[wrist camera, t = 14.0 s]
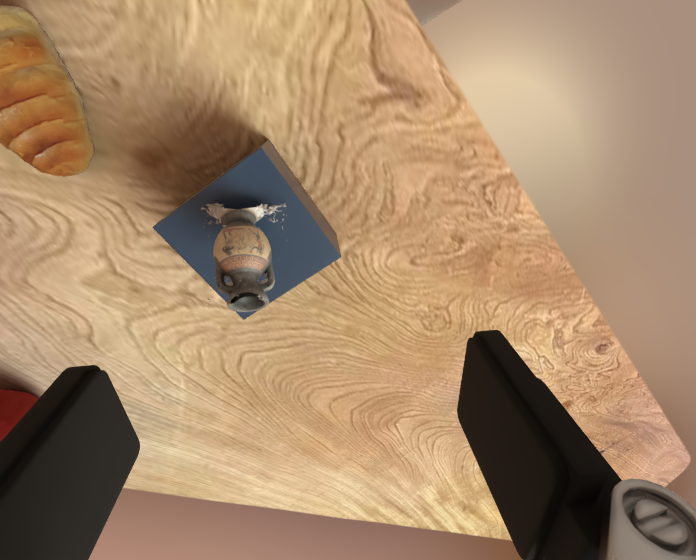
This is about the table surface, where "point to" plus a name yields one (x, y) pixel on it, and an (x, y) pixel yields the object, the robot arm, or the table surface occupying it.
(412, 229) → the table surface
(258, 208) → the vase
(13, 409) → the apple
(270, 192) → the block
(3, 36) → the pastry
